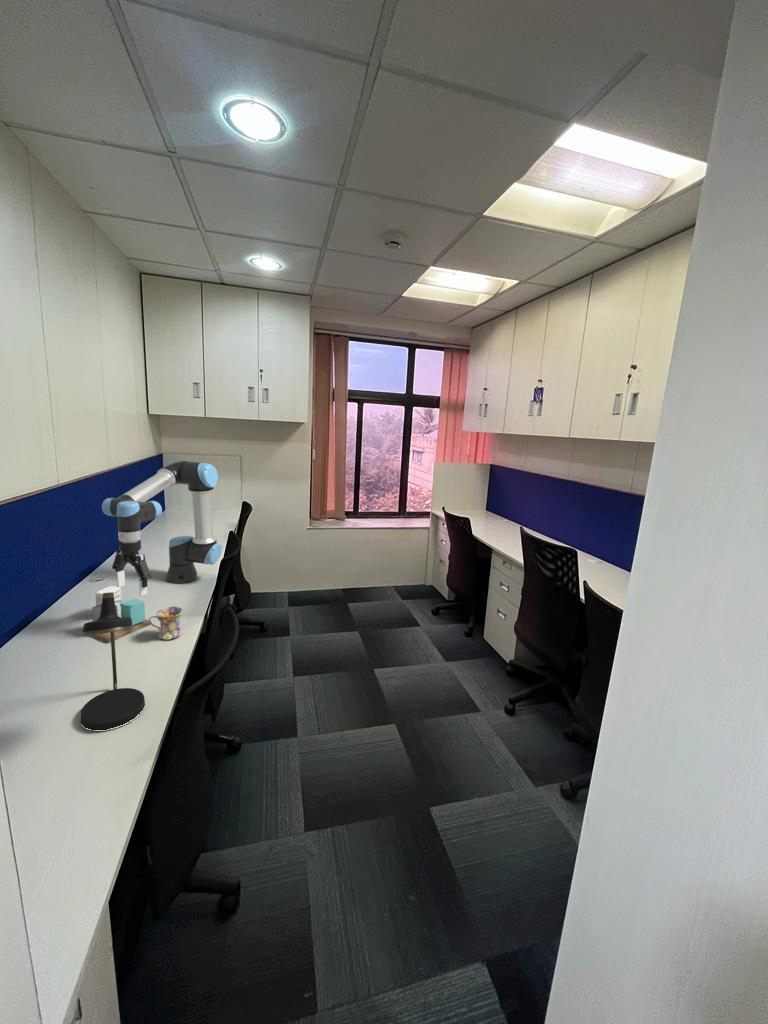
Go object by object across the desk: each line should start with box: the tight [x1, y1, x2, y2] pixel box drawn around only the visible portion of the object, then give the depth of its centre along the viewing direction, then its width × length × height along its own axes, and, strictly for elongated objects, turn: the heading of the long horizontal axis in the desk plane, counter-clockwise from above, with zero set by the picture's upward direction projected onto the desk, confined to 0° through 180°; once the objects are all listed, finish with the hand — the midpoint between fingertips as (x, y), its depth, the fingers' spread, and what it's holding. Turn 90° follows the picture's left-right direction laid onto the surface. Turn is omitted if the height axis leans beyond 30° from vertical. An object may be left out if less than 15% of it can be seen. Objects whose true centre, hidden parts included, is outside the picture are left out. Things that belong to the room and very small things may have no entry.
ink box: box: [95, 585, 122, 615], centre depth 176 cm, size 9×5×12 cm, turn 168°
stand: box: [90, 604, 152, 644], centre depth 166 cm, size 18×12×11 cm, turn 156°
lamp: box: [79, 592, 146, 730], centre depth 120 cm, size 16×22×38 cm
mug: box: [148, 606, 184, 640], centre depth 164 cm, size 12×9×11 cm
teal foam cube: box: [120, 598, 146, 625], centre depth 169 cm, size 6×6×8 cm
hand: (132, 590), depth 167 cm, fingers open, 13 cm apart
